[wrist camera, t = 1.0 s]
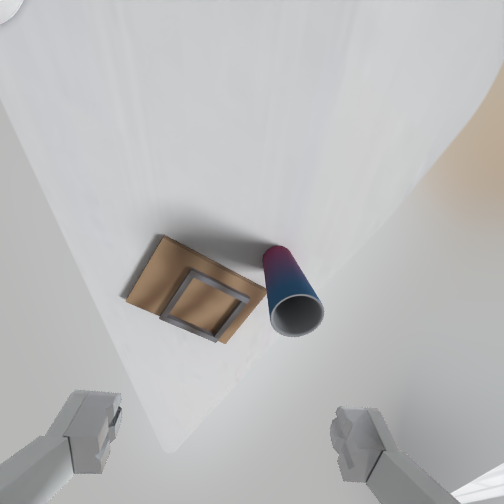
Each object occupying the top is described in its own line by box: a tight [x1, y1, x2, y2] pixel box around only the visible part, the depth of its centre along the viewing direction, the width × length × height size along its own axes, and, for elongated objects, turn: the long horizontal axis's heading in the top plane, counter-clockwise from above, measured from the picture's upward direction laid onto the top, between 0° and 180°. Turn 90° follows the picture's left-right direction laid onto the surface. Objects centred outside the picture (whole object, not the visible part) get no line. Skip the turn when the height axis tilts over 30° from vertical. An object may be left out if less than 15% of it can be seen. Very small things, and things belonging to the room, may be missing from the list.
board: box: [126, 235, 267, 344], centre depth 49 cm, size 20×14×2 cm
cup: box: [263, 246, 324, 337], centre depth 42 cm, size 7×7×15 cm
